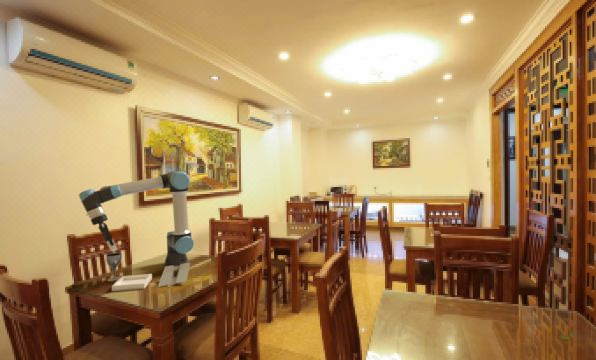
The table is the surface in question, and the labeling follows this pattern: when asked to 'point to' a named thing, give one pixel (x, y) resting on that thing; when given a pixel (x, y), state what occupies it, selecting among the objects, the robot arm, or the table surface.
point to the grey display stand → (174, 274)
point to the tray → (132, 282)
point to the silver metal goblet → (114, 263)
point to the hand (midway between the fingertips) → (114, 250)
